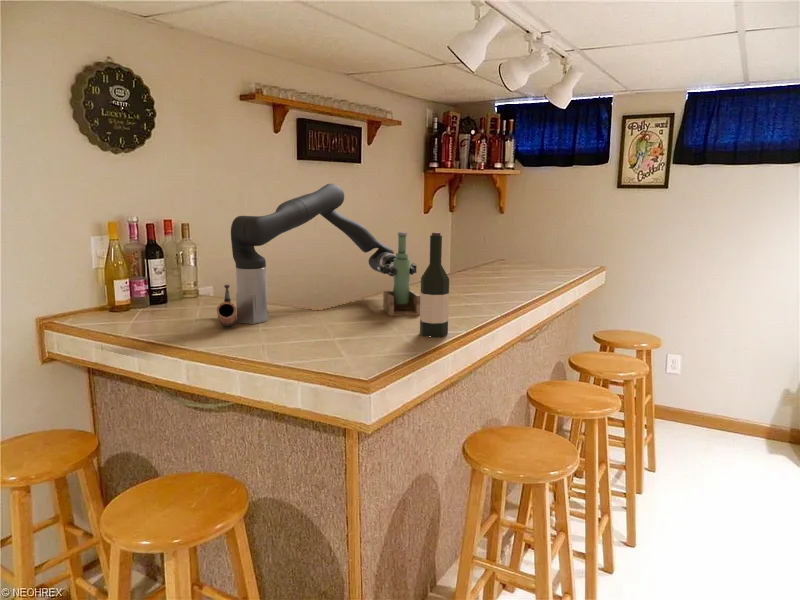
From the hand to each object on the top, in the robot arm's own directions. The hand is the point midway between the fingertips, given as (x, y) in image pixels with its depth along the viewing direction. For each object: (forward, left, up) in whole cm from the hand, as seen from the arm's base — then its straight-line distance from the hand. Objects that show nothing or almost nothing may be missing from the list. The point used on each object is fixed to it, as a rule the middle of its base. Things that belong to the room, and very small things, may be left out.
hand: (403, 271), depth 200 cm
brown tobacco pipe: (-30, +49, -15) cm, 59 cm away
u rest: (+2, +1, -14) cm, 15 cm away
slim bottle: (+2, +1, -11) cm, 11 cm away
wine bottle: (-24, -16, -15) cm, 32 cm away
